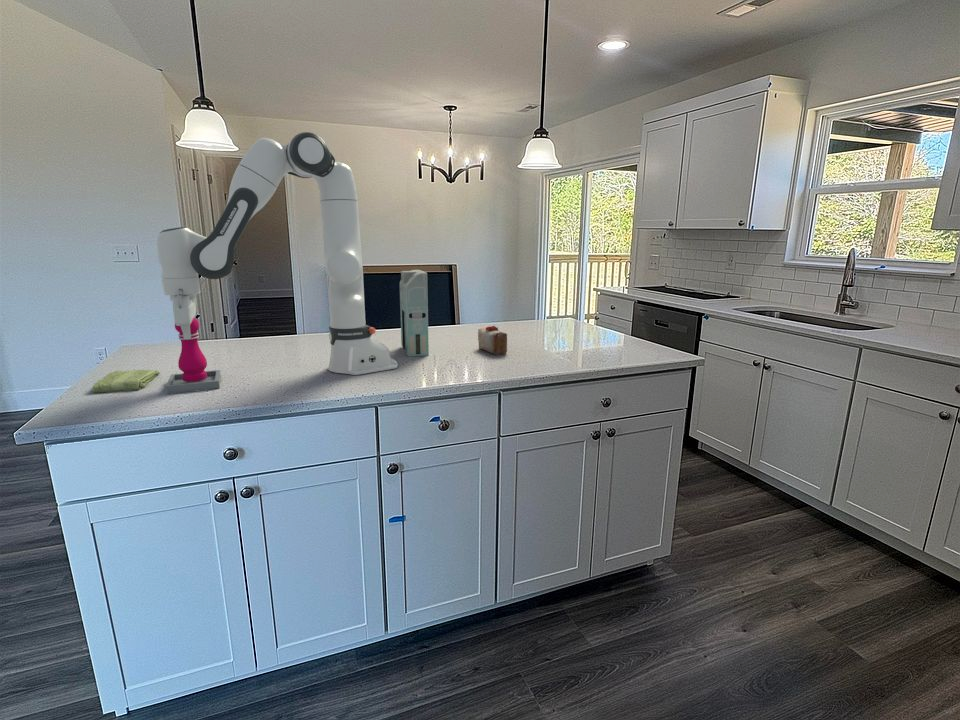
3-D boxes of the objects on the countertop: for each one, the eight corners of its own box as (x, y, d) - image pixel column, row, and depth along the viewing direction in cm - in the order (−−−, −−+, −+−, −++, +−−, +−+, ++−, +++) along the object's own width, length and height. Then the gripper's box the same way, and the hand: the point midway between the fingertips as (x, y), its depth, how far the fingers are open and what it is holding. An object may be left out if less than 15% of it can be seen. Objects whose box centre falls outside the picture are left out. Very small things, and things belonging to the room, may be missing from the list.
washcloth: (162, 375, 156) (160, 365, 155) (143, 391, 140) (141, 380, 139) (113, 378, 152) (111, 368, 151) (88, 395, 136) (86, 384, 135)
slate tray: (220, 376, 153) (220, 369, 152) (219, 388, 142) (218, 380, 141) (172, 381, 148) (171, 374, 147) (166, 394, 136) (165, 386, 136)
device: (401, 347, 195) (399, 269, 187) (420, 346, 197) (419, 269, 189) (407, 356, 179) (405, 273, 172) (428, 355, 182) (427, 273, 174)
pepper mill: (196, 383, 140) (186, 313, 135) (174, 381, 141) (163, 312, 136) (214, 376, 147) (205, 309, 142) (193, 374, 148) (183, 308, 143)
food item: (475, 348, 194) (475, 323, 191) (492, 346, 197) (493, 322, 195) (492, 356, 182) (492, 329, 180) (510, 353, 186) (511, 328, 183)
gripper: (191, 290, 130) (199, 342, 133) (197, 283, 148) (203, 329, 151) (163, 292, 127) (171, 344, 131) (172, 284, 145) (179, 330, 149)
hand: (188, 336), depth 141 cm, fingers open, 6 cm apart
